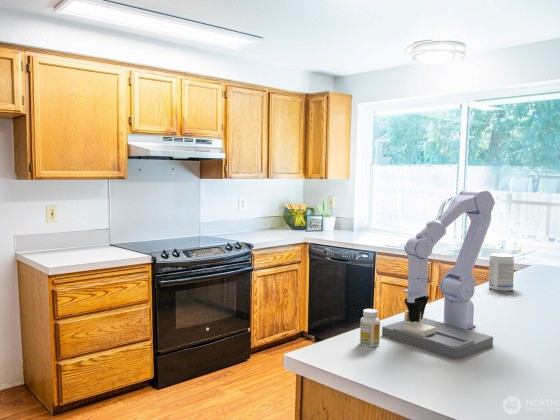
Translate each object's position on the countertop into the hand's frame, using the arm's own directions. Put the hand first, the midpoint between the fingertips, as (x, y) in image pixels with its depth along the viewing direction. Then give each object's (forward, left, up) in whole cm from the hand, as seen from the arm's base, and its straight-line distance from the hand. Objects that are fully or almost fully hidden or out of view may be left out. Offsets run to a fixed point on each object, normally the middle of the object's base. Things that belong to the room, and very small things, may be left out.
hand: (416, 320), depth 148 cm
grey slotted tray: (+2, +8, -3) cm, 9 cm away
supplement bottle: (+20, -1, -4) cm, 20 cm away
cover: (+7, +6, 0) cm, 9 cm away
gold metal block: (+1, -1, -1) cm, 1 cm away
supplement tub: (-77, -13, -4) cm, 78 cm away
